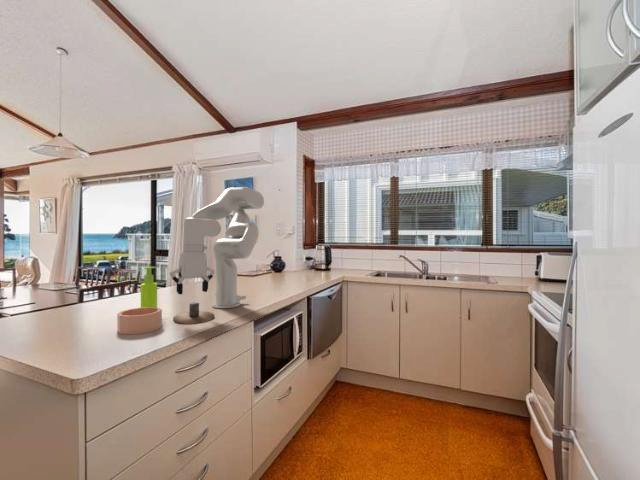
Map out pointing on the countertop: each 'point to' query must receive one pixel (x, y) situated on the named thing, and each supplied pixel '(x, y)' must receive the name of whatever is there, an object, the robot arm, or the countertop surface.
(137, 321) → the terracotta bowl
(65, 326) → the countertop surface
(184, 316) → the walnut lid
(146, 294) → the soap dispenser
